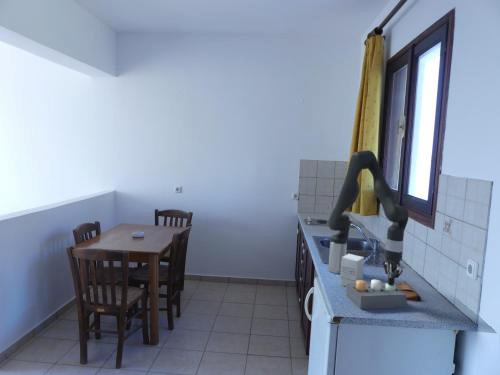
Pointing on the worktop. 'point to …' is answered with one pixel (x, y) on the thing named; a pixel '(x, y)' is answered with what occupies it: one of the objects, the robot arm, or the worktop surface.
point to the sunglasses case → (408, 291)
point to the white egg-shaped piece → (376, 285)
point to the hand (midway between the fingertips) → (390, 284)
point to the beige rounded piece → (361, 285)
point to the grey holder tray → (376, 297)
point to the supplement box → (351, 269)
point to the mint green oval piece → (390, 287)
